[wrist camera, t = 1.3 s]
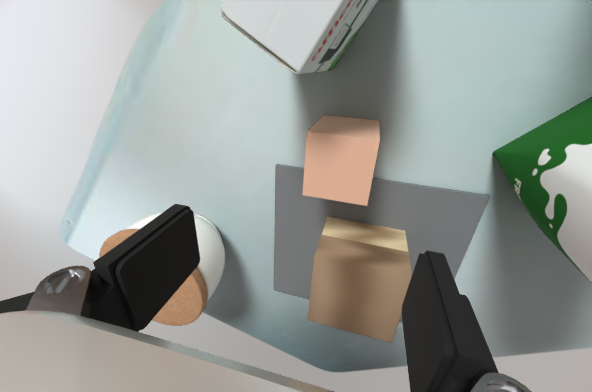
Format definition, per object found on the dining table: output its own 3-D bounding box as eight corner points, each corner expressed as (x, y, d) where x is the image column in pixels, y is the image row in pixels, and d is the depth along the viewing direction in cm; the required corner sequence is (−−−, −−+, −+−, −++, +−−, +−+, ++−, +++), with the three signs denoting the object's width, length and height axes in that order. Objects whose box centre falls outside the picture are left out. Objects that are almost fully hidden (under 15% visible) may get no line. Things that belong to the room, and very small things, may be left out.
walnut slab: (408, 251, 24) (412, 278, 21) (389, 312, 28) (391, 342, 25) (321, 234, 26) (314, 257, 23) (314, 293, 30) (307, 320, 27)
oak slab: (405, 230, 27) (408, 251, 24) (388, 287, 31) (389, 312, 28) (327, 216, 29) (321, 234, 26) (320, 272, 33) (314, 293, 30)
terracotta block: (379, 120, 24) (380, 140, 18) (369, 172, 26) (367, 205, 20) (323, 114, 25) (306, 131, 19) (319, 165, 27) (302, 195, 21)
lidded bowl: (199, 282, 40) (144, 350, 31) (142, 217, 38) (62, 270, 28) (259, 256, 35) (215, 329, 25) (197, 177, 32) (120, 226, 22)
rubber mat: (488, 195, 24) (489, 197, 24) (431, 327, 32) (432, 330, 32) (276, 164, 28) (275, 165, 28) (274, 287, 37) (273, 290, 36)
